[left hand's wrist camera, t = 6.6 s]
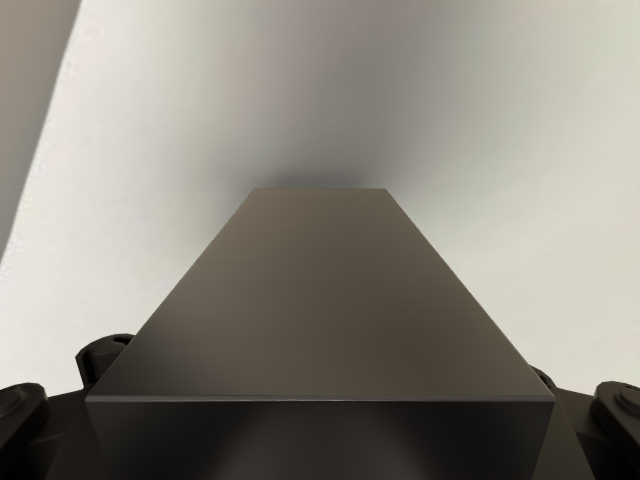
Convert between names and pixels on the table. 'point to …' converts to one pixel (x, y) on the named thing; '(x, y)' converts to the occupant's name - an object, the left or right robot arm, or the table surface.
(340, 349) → the box
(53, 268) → the table surface
